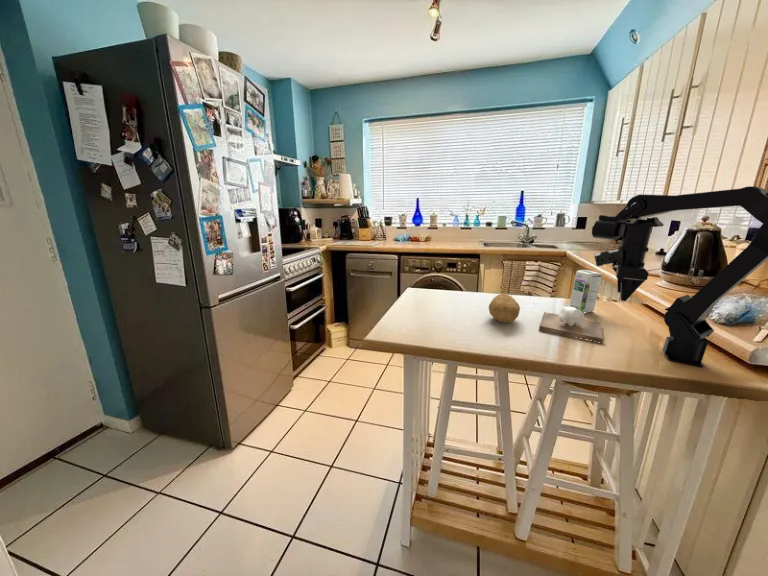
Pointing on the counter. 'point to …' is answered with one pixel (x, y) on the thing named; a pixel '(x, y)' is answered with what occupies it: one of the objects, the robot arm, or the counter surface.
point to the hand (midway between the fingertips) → (621, 296)
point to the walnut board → (571, 328)
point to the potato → (504, 308)
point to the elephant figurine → (571, 315)
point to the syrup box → (585, 290)
